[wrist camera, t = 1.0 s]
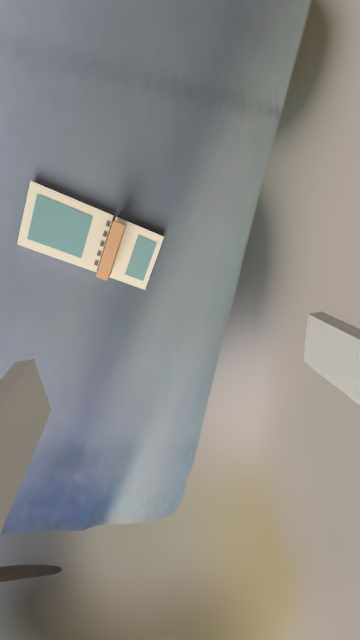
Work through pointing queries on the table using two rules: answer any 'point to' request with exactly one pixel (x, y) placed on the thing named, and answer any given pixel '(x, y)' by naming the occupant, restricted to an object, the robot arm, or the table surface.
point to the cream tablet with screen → (64, 227)
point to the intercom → (129, 253)
